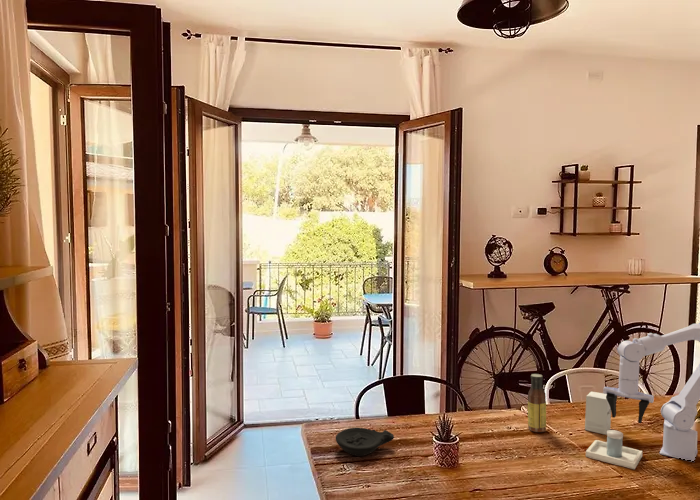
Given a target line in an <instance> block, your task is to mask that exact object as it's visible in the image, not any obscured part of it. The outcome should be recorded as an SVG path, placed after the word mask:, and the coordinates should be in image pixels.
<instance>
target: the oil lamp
mask: <svg viewBox="0 0 700 500" xmlns="http://www.w3.org/2000/svg"><path fill="white" fill-rule="evenodd" d="M394 438H395V436H394V434H393V433H392V432H390V431H388V430H386V429H385V430H383V431H376V430H375V429H368V428H365V427H350V428H346V429H343V430H341V431H340V432H338V433H337V434H336V436H335V441H336V444H337V445H338V446H339V447H340V448H341V449H342V450H343V451H344V452H345V453H347V454H350V455H353V456H357V457H362V456H367V455H369V454H372V453H374V451H376V450H377V449H378V448H379V447H380V446H383V445H385V444H388V443H389V442H392V441H393V440H394Z"/></svg>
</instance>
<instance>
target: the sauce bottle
mask: <svg viewBox="0 0 700 500" xmlns="http://www.w3.org/2000/svg"><path fill="white" fill-rule="evenodd" d="M543 378H544V377H543V375H542V374H539V373H531V375H530V379H531V380H530V381H531V382H530V387H529V388H530V389H529V391H528V393H527V394H528V395H527V425H528V427H527V428H528V430H530V431H531V432H534V433H545V432H546V429H547V401H546V399H547V398H546V395H547V394H546V391H545V390H544V387H543V380H544V379H543Z"/></svg>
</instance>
